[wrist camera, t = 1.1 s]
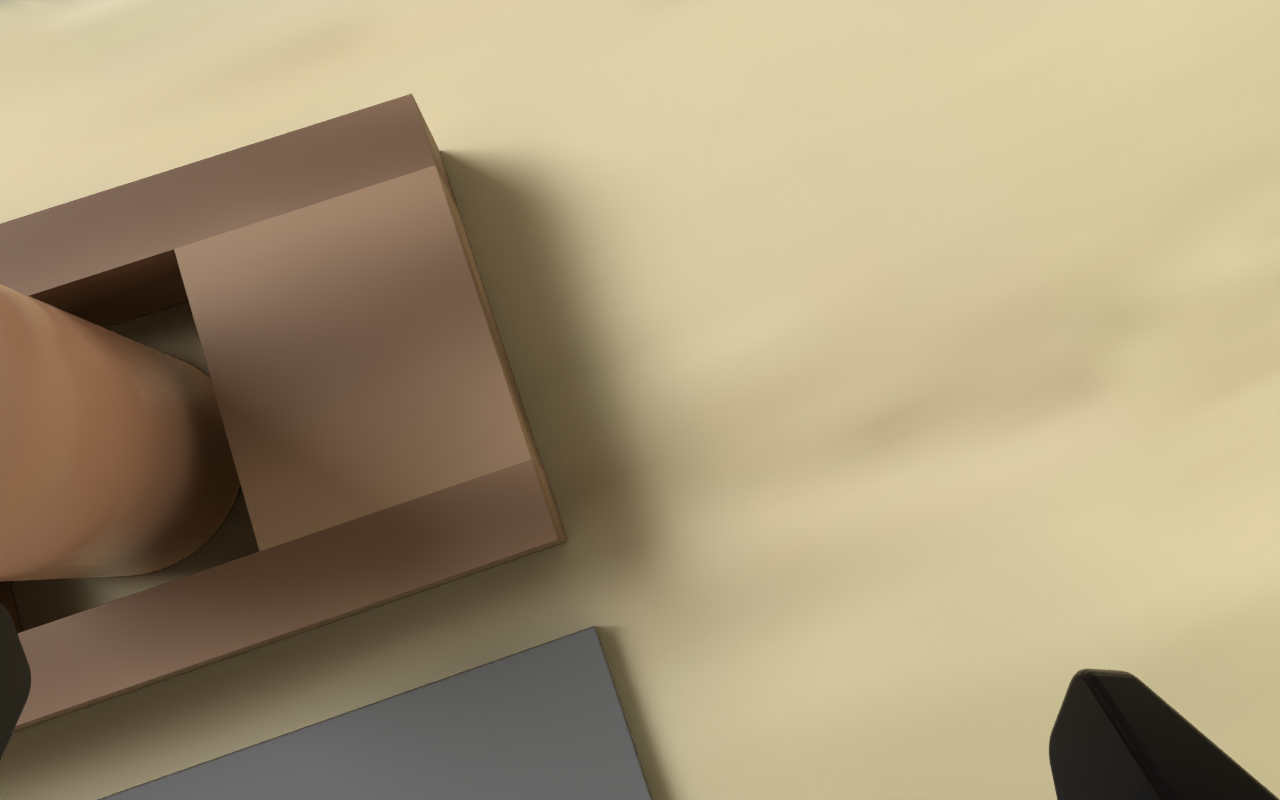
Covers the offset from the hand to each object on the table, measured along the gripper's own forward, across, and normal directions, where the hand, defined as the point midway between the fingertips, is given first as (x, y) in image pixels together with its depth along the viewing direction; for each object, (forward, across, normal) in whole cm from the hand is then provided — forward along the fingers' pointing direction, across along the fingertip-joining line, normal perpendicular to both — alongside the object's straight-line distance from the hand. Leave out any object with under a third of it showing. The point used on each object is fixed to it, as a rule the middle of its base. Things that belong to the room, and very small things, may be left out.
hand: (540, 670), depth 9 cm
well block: (+13, +11, +7) cm, 18 cm away
